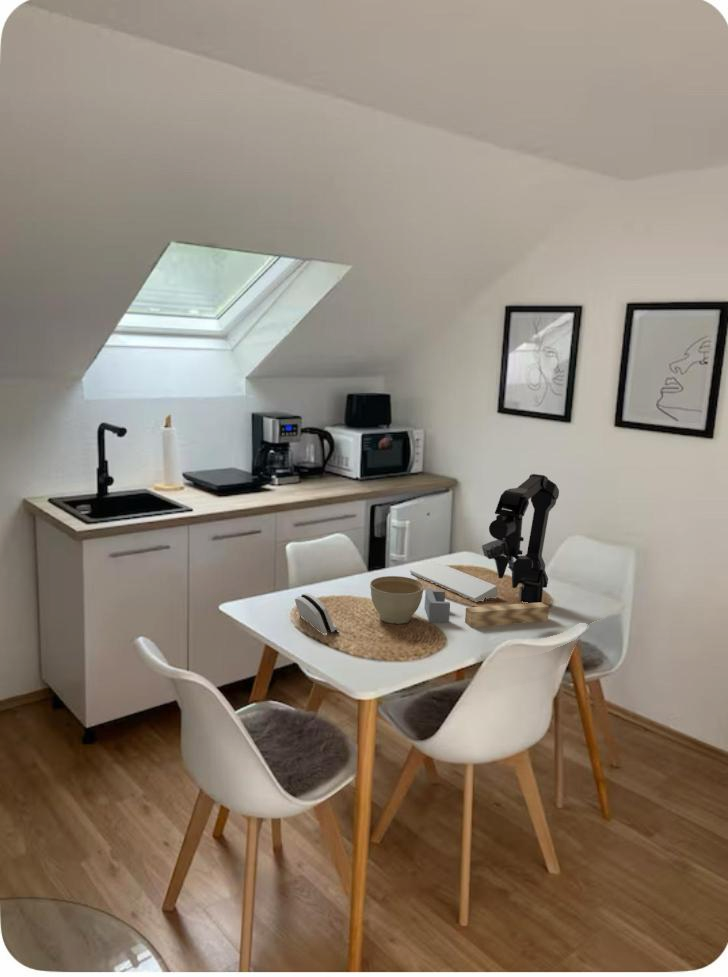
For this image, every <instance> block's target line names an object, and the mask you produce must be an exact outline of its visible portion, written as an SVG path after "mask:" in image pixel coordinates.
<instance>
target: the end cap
mask: <svg viewBox="0 0 728 977" xmlns="http://www.w3.org/2000/svg"><path fill="white" fill-rule="evenodd" d="M424 591H425V593H424V595H425V596H424V610H425V614H426V617H427V620H428V622H429V623H450V612H451V610H450V609H451V602H450V601H445V600H446V599H445V598H446V589H424Z"/></svg>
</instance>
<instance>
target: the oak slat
mask: <svg viewBox="0 0 728 977" xmlns="http://www.w3.org/2000/svg"><path fill="white" fill-rule="evenodd" d="M549 612H550V606H549V605H548V604H547V603H544V602H543V601H542V602H538V603H524V604H522V603H513V604H499V605H498V604H496V605H483V606H472V607H471V606H470V607H468V606H467V607H465V614H464V616H465V617H464V623H465V624H466V625H467V626H468V627H470V628H479V627H489V626H490V627H492V626H493V627H494V626H503V625H513V624H514V623H519V624H524V623H523V622H531V623H542V622H544V623H545V622H548V621H549ZM537 621H538V622H537ZM539 621H541V622H539ZM514 625H515V624H514Z"/></svg>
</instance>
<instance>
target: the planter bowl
mask: <svg viewBox="0 0 728 977" xmlns="http://www.w3.org/2000/svg"><path fill="white" fill-rule="evenodd" d="M369 587H370V597H371V601H372V604H373V606H374V609H375V610H376V612H377V613H378V616H379V619H380V620H381V621H383V622H385V623H388V624H394V623H395V624H396V625H398V624H401V625H402V624H407V623H409V622H410V621H411V620H412V616H413V615H414V614H415V613H417V612H416V611H417V610H418V609H419V607H420V606H421V605H420V604H421V603H422V599H423V592H424V591H425V586H424V584H423V583H422V582H421V581H420V580H417V579H415V578H412V577H408V576H400V575H399V576H398V575H388V576H387V575H385V576H380V577H377V578H373V579H372V580H371V581H370V583H369ZM395 624H394V625H395Z"/></svg>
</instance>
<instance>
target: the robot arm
mask: <svg viewBox="0 0 728 977" xmlns="http://www.w3.org/2000/svg"><path fill="white" fill-rule="evenodd" d="M559 493H560V490H559V488H558V485H557V484H556V483H554V482H553V481H551V480H550V479H549V478H548V477H547V476H546V475H543V474H536V473H531V474H530V475H529V477H528V478H527V479H526V480H525V481H523V482H522V483H521V484H520V485H519V486H517V487H514V488H507V489H506V490H504V491H503V492H502V493H501V494H500V498H499V501H498V503H497V505H496V509H495V511H494V514H495V515H496V516H495V518H496V519H495V520H492V521H491V522H490V524H489V527H488V531H489V534H490V536H491V537H493V539H495V540H492V541H490V542H487V543H485V544H483V545H481V549H482V552H483V556H484V557H486V558H487V559H488V560H492V559H493V560H494V562H495V567H496V571H497V575H498V578H499V579H503V577H504V575H505V572H506V570H507V567H508V569H509V570H510V571H511V584H512V585H511V588H513V589H516V588H518V586H519V584H521V586H520V587H519V592H518V593H519V596H518V599H519V601H520V602H521V601H523V602H528V603H538V602H543V590H544V589H546V588H547V587H548V584H549V578H548V575H547V573H546V562H545V561H544V558H543V551H544V550H543V549H544V543H545V537H546V533H547V525H548V521H549V514H550V511H552V509H553V508H554V507H555V505H557V504H556V503H557V500H558V499H559V495H560V494H559ZM529 500H530V501H529ZM530 503H531V504H532V507H533V516H532V522H531V527H530V532H529V533H530V535H529V540H528V544H527V545H528V546H527V551H526V554H525V555H523V550H521V542H524V537H523V536H522V528H523V519H524V518H523V517H525V514H526V512H527V509H528V507H529V505H530Z"/></svg>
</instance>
